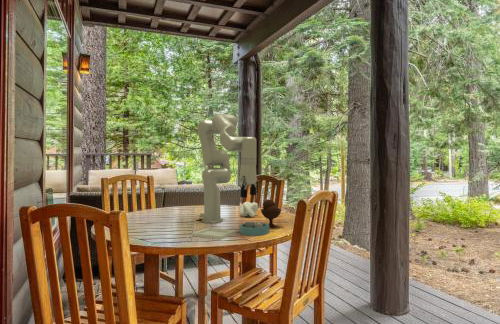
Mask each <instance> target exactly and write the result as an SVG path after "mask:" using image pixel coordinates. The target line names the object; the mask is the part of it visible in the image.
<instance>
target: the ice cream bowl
mask: <svg viewBox="0 0 500 324" xmlns="http://www.w3.org/2000/svg"><path fill="white" fill-rule="evenodd" d="M262 203H263V204H262V205H263V208H261V209H260V213H261V214H262V216H263V217H264V218H266V219H268V222H269V223H267V224H268V225H269V229H274V228H276V227H277V226H276V224H274V223H273V221H274V219H277V218H278V217H279V216H280V215H281V213H282V209H281V208H278V204H277V203H275V201H274V200H273V199H265V200H264V202H262Z"/></svg>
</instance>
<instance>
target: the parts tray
mask: <svg viewBox="0 0 500 324" xmlns="http://www.w3.org/2000/svg"><path fill="white" fill-rule="evenodd" d="M235 234H236V235H237V230H235V229H227V228H216V227H207V228H204V229H201V230H198V231H195V232H192V237H195V238H206V239H213V240H223V239H226V238H228V237H230V236H233V235H235Z"/></svg>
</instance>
